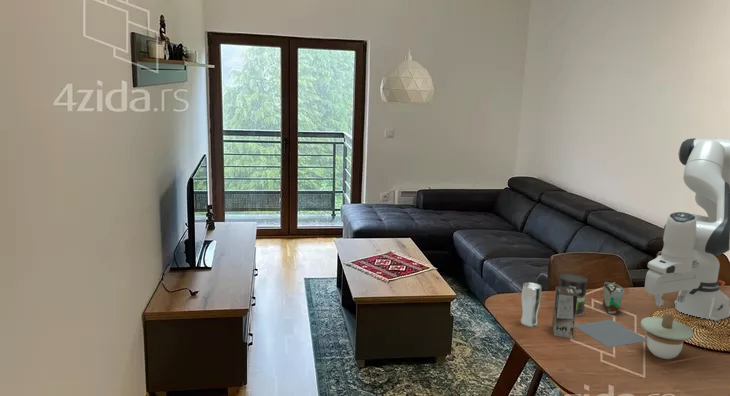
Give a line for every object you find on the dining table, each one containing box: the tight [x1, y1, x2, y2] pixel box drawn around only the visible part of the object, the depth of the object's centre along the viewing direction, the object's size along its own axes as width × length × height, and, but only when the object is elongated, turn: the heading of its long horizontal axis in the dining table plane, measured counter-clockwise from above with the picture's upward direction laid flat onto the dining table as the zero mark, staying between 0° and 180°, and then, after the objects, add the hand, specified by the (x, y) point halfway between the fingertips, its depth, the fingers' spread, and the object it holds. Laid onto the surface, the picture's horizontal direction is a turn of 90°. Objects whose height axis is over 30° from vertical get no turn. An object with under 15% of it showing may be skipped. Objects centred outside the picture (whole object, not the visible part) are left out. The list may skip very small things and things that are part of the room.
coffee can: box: [558, 273, 589, 316], centre depth 209 cm, size 10×10×14 cm
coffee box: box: [551, 285, 578, 339], centre depth 190 cm, size 9×6×16 cm
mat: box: [574, 319, 647, 349], centre depth 191 cm, size 18×18×1 cm
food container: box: [602, 281, 625, 315], centre depth 210 cm, size 12×6×10 cm, turn 168°
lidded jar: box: [646, 331, 685, 360], centre depth 175 cm, size 11×11×9 cm
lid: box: [640, 313, 694, 341], centre depth 174 cm, size 15×15×5 cm
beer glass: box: [520, 282, 543, 328], centre depth 197 cm, size 7×7×15 cm
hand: (670, 303), depth 173 cm, fingers open, 8 cm apart
